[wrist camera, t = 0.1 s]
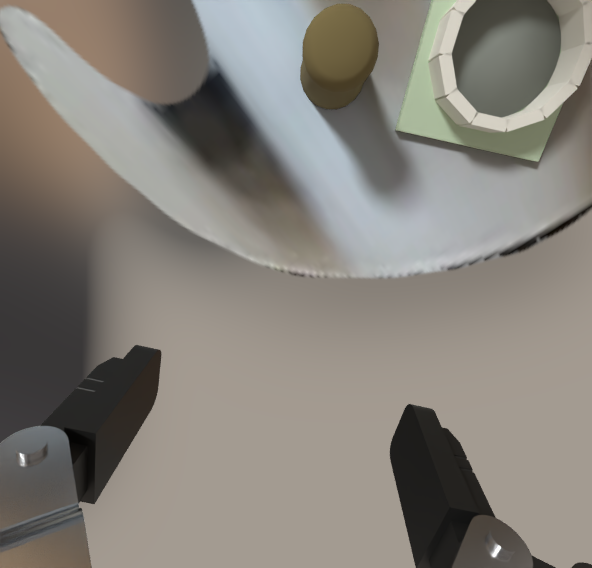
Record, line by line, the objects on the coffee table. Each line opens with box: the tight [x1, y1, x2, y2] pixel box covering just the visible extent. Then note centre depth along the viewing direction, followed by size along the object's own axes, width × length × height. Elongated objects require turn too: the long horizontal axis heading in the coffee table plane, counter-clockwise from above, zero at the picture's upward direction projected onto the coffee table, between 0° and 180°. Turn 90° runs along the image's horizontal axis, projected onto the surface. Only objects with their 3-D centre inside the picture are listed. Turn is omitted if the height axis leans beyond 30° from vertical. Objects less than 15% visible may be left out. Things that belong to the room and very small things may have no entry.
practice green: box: [395, 0, 592, 162], centre depth 31 cm, size 15×14×4 cm
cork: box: [300, 4, 379, 109], centre depth 29 cm, size 6×6×11 cm
